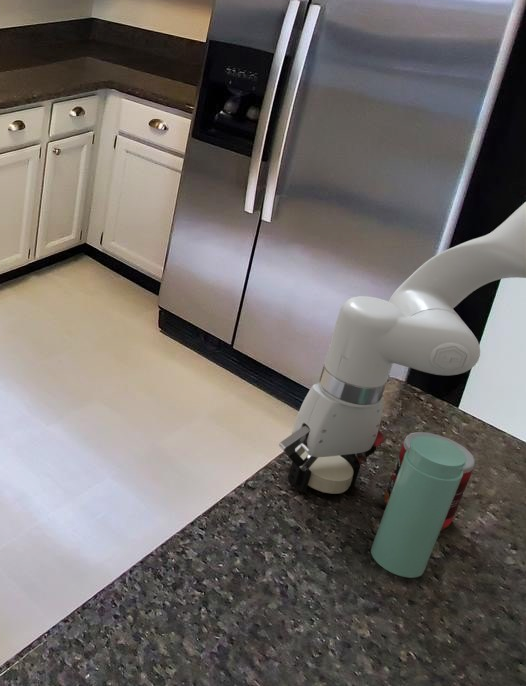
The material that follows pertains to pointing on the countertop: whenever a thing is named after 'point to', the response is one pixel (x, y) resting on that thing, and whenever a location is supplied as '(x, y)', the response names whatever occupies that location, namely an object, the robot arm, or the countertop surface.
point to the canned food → (463, 483)
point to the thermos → (418, 506)
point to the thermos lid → (330, 474)
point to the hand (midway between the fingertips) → (320, 482)
